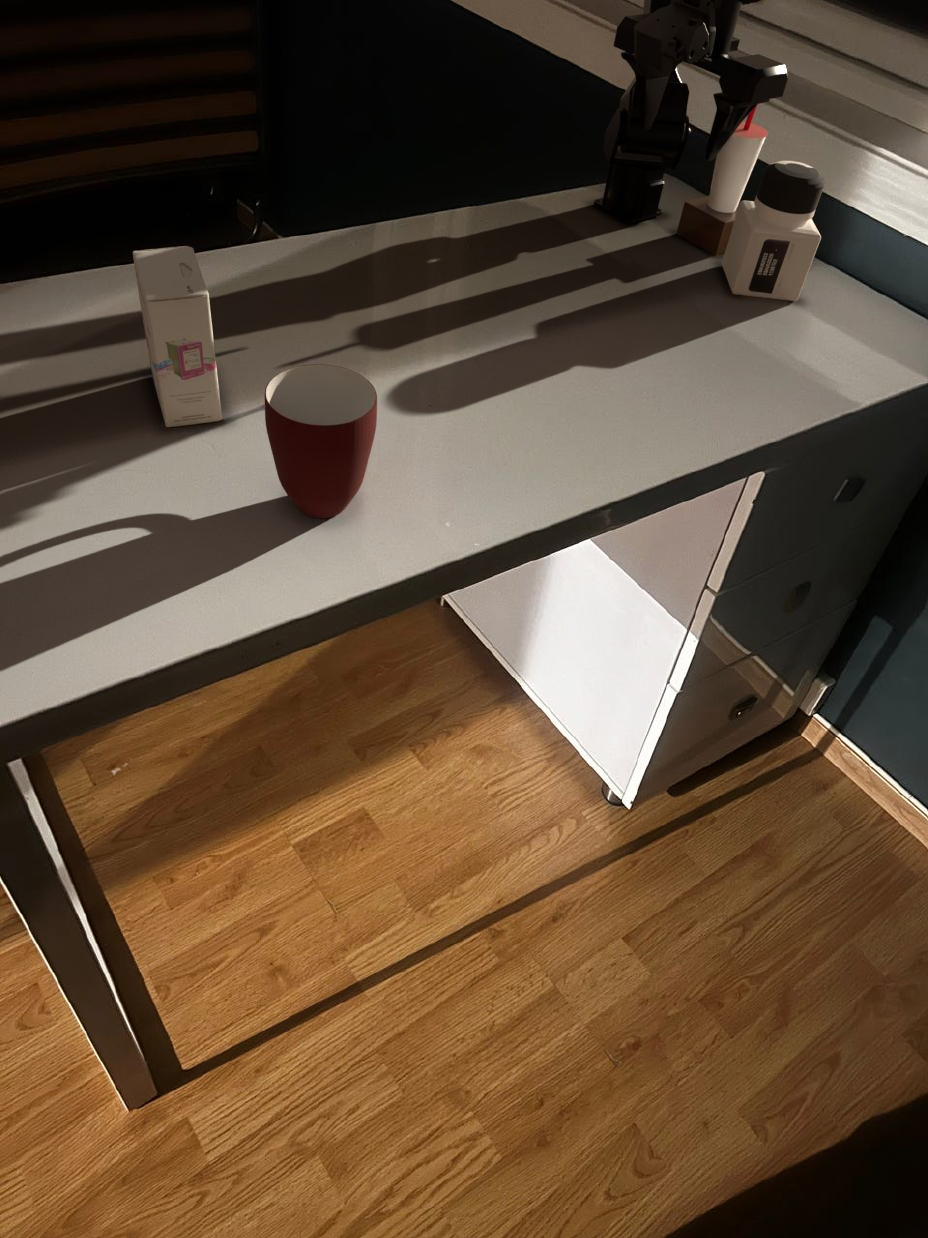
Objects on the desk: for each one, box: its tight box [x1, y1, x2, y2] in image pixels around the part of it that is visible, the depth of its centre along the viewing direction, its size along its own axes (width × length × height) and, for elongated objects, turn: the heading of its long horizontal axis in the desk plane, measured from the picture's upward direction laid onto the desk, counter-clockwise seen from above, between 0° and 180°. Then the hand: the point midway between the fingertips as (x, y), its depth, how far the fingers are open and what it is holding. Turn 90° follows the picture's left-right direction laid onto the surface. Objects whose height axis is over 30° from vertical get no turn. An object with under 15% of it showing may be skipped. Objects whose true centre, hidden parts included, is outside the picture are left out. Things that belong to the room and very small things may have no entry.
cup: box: [708, 105, 769, 213], centre depth 113 cm, size 5×5×12 cm
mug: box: [264, 363, 378, 519], centre depth 74 cm, size 10×8×10 cm
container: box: [721, 160, 826, 302], centre depth 109 cm, size 8×8×13 cm
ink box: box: [132, 245, 223, 428], centre depth 81 cm, size 8×5×12 cm, turn 21°
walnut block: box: [675, 194, 740, 256], centre depth 119 cm, size 6×6×4 cm
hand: (676, 144), depth 105 cm, fingers open, 9 cm apart
